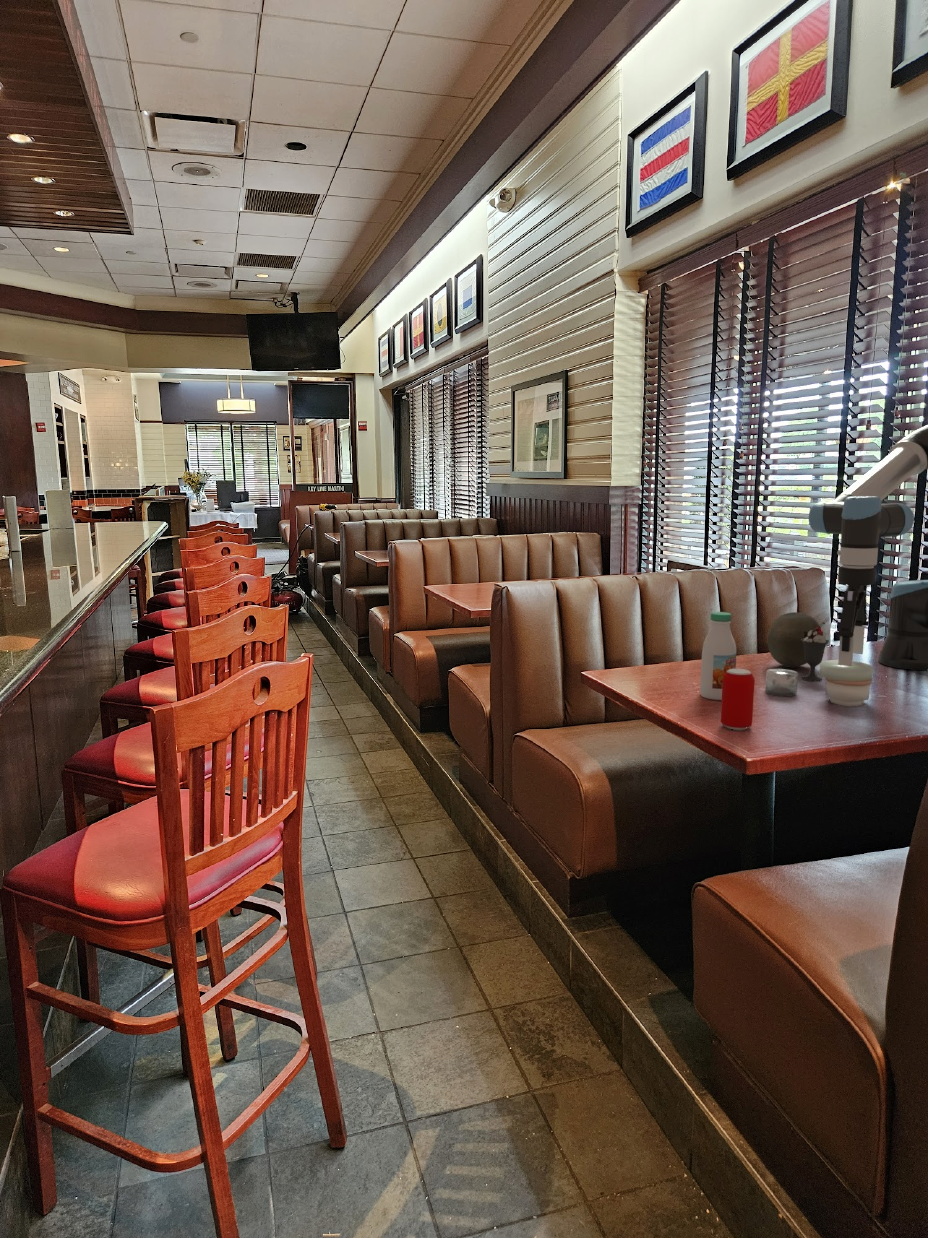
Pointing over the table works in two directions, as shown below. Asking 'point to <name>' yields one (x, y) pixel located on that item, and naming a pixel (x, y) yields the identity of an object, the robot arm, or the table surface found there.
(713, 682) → the milk bottle
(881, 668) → the table surface
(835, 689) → the bowl
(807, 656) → the sundae
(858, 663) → the lid
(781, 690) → the lid stand
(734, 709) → the beverage can
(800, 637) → the cantaloupe
